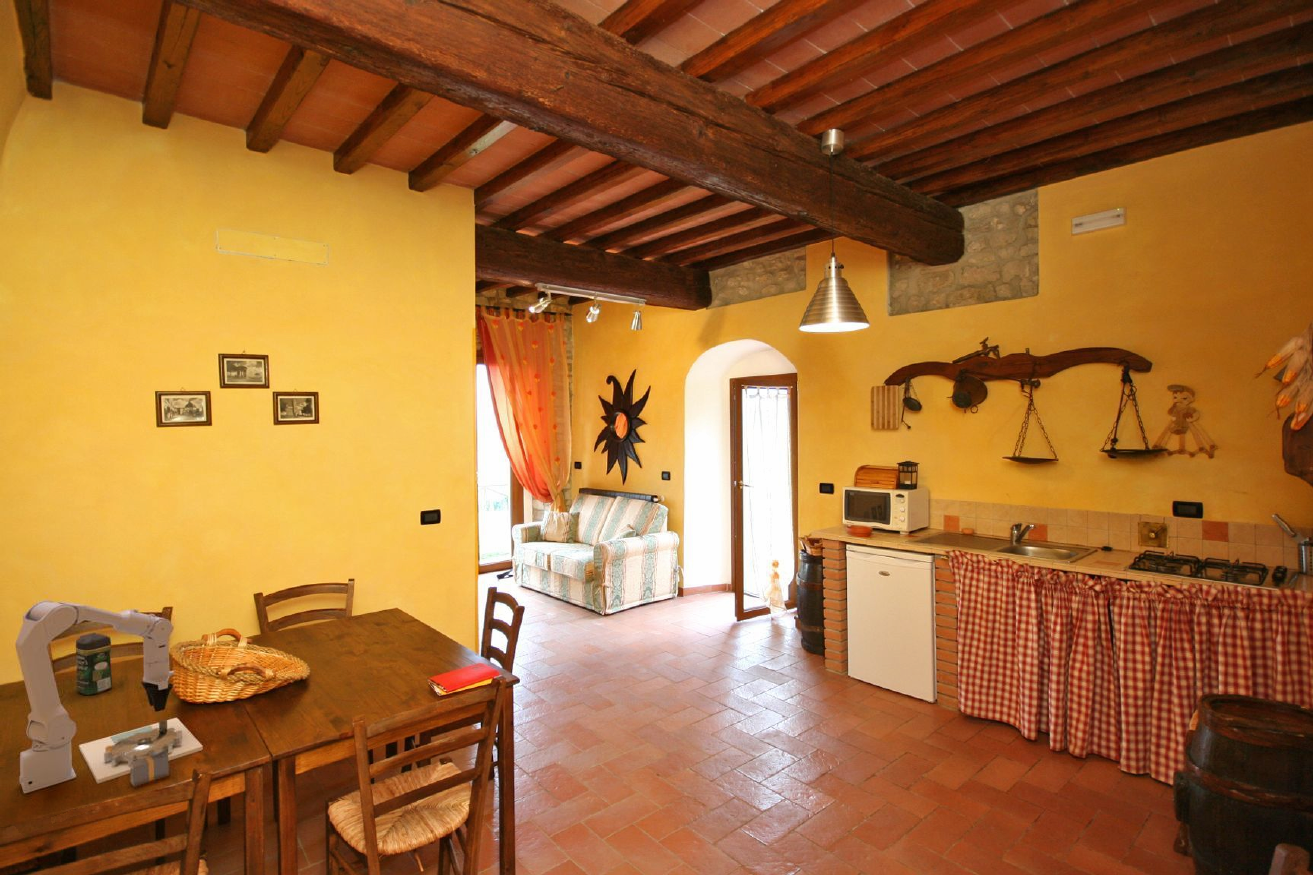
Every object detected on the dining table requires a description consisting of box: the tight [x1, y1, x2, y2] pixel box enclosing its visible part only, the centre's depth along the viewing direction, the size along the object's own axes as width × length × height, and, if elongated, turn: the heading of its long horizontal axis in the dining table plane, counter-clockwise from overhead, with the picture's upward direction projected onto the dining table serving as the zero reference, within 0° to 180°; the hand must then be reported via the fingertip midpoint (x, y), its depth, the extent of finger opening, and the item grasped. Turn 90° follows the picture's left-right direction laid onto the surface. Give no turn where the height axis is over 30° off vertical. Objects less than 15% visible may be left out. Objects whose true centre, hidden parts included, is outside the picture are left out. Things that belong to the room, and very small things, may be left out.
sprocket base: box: [78, 717, 204, 784], centre depth 178 cm, size 22×26×1 cm
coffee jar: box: [75, 632, 113, 696], centre depth 217 cm, size 10×8×19 cm
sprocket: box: [104, 719, 182, 766], centre depth 176 cm, size 17×17×5 cm
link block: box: [129, 752, 170, 788], centre depth 164 cm, size 7×4×5 cm, turn 139°
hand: (157, 707), depth 185 cm, fingers open, 5 cm apart
